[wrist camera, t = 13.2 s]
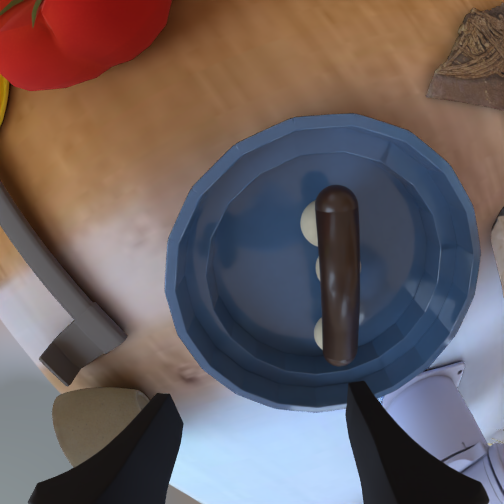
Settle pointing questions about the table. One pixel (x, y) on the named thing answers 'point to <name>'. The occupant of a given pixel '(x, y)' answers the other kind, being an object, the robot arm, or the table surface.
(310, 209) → the dough ball
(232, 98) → the table surface
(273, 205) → the bowl
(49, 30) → the tomato
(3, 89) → the stacking cups
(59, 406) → the flower pot
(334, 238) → the stick
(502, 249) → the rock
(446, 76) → the brown flat piece
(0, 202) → the toilet paper hanger
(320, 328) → the dough ball
